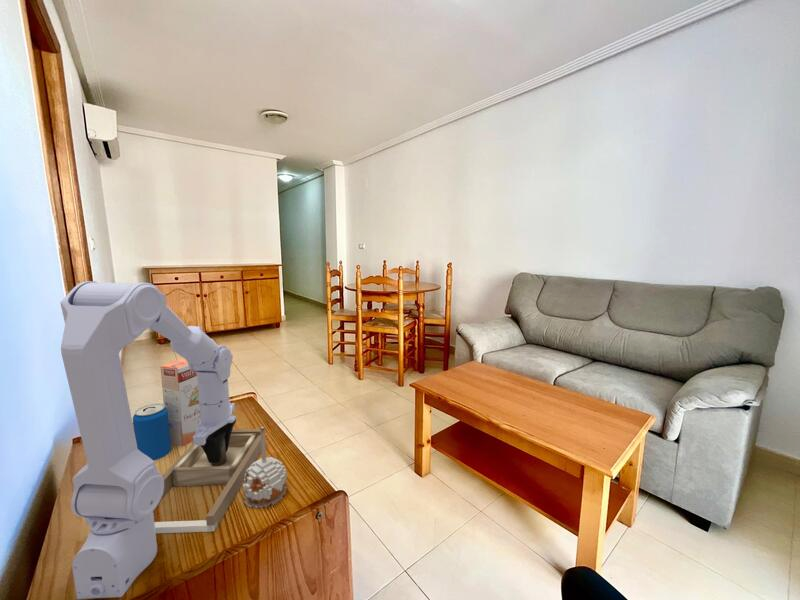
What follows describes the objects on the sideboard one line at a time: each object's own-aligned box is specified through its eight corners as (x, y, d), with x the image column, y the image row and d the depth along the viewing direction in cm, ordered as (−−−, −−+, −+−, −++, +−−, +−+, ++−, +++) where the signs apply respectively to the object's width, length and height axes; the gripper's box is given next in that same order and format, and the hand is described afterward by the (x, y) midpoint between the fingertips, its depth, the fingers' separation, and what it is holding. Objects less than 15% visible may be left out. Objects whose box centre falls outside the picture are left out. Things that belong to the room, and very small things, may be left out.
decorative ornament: (236, 500, 65) (231, 429, 63) (271, 478, 71) (268, 413, 69) (259, 519, 61) (255, 444, 58) (294, 494, 67) (292, 425, 65)
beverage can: (166, 445, 83) (162, 399, 81) (175, 455, 79) (171, 408, 77) (134, 457, 78) (128, 409, 76) (142, 469, 74) (136, 418, 72)
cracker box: (184, 450, 81) (177, 368, 78) (166, 445, 83) (157, 365, 79) (229, 421, 94) (224, 350, 91) (212, 418, 96) (206, 348, 93)
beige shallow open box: (234, 484, 68) (232, 458, 67) (173, 486, 67) (170, 460, 67) (257, 447, 81) (255, 424, 80) (206, 448, 80) (204, 425, 79)
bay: (214, 535, 57) (212, 510, 56) (123, 539, 56) (120, 514, 55) (265, 446, 83) (264, 428, 82) (203, 448, 82) (201, 429, 81)
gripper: (217, 415, 65) (221, 478, 67) (246, 385, 79) (249, 437, 81) (179, 416, 64) (185, 479, 67) (215, 385, 79) (219, 438, 81)
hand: (218, 456), depth 74 cm, fingers closed on beige shallow open box, 3 cm apart
